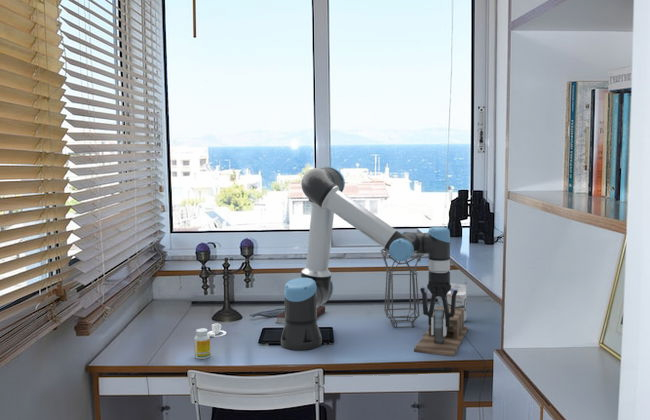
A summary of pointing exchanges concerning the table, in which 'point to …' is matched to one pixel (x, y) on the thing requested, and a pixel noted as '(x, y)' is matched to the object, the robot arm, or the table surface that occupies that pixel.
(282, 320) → the book
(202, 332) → the supplement bottle
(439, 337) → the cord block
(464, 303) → the ink box
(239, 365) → the table surface
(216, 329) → the teacup and saucer
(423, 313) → the robot arm
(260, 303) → the table surface
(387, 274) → the geometric lantern
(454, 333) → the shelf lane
